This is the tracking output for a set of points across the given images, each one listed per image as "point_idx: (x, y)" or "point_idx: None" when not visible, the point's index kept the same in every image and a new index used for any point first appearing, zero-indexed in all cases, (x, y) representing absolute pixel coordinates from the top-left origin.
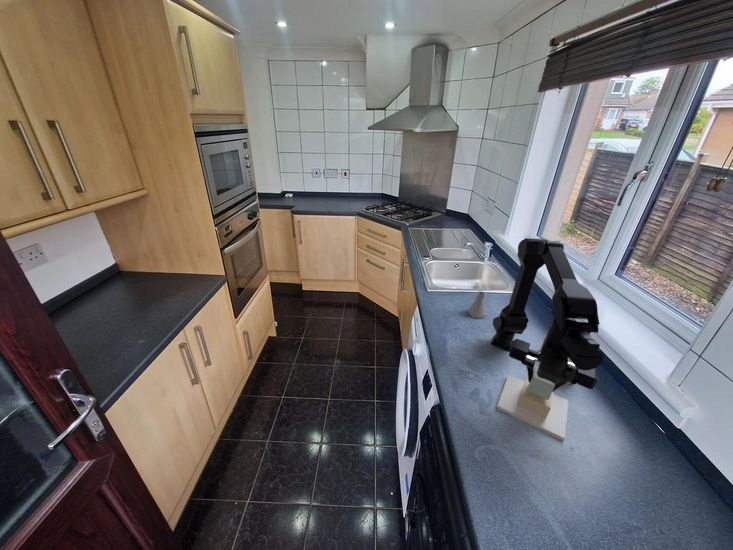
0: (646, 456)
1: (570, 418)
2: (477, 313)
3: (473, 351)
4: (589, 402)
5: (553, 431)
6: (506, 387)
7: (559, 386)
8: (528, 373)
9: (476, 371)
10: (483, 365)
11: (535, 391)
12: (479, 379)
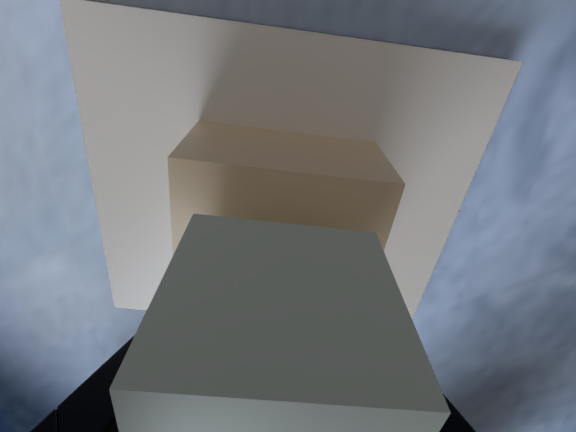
0: None
1: (86, 208)
2: None
3: (549, 388)
4: (41, 336)
5: (138, 25)
6: (428, 249)
7: (75, 398)
8: (468, 428)
9: (567, 287)
10: (516, 335)
11: (317, 245)
12: (565, 242)
